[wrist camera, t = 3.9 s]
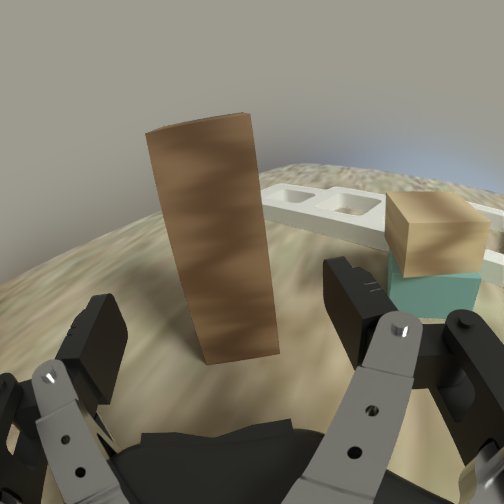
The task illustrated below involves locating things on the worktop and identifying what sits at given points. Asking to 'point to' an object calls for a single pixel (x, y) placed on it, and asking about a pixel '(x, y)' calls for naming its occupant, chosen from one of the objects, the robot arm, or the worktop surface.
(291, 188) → the holder
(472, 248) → the tower mid
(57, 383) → the robot arm
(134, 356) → the worktop surface
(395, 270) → the tower base
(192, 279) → the walnut column
